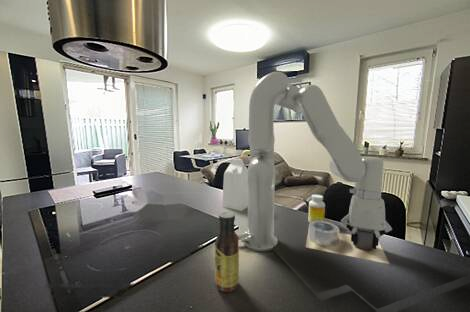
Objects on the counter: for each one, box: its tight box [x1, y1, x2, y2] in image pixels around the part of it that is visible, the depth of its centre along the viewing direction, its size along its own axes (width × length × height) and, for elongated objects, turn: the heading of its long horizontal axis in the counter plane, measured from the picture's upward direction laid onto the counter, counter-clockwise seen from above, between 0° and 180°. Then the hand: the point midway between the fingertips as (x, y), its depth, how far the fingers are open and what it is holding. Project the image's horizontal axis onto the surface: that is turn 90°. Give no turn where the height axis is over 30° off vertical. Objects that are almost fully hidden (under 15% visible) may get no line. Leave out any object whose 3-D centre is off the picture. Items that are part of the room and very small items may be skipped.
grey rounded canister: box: [355, 228, 374, 251], centre depth 72 cm, size 5×5×6 cm
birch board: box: [305, 229, 390, 265], centre depth 75 cm, size 24×16×1 cm, turn 67°
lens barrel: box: [307, 220, 340, 247], centre depth 77 cm, size 10×10×5 cm
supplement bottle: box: [307, 194, 326, 223], centre depth 92 cm, size 7×7×13 cm
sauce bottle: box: [214, 211, 240, 293], centre depth 55 cm, size 6×6×20 cm
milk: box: [222, 158, 248, 212], centre depth 116 cm, size 12×12×26 cm
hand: (363, 244), depth 72 cm, fingers closed on grey rounded canister, 5 cm apart
